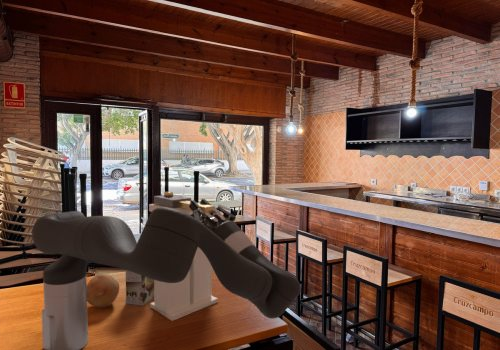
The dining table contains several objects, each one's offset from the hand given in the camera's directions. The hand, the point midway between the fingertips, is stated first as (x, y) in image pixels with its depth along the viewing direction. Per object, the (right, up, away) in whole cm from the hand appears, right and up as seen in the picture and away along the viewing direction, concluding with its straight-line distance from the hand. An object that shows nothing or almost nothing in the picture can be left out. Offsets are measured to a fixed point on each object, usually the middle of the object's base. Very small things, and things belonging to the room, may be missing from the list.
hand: (196, 202), depth 94 cm
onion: (-31, -33, +12) cm, 47 cm away
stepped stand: (-6, -33, +14) cm, 36 cm away
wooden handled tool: (-4, -2, +4) cm, 6 cm away
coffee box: (-21, -33, +17) cm, 43 cm away
